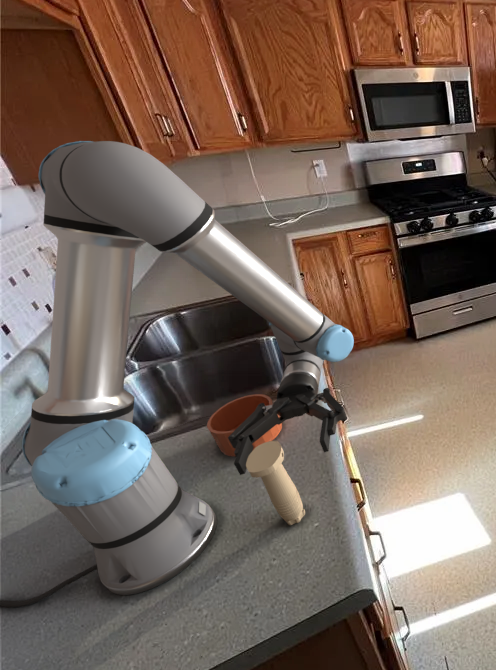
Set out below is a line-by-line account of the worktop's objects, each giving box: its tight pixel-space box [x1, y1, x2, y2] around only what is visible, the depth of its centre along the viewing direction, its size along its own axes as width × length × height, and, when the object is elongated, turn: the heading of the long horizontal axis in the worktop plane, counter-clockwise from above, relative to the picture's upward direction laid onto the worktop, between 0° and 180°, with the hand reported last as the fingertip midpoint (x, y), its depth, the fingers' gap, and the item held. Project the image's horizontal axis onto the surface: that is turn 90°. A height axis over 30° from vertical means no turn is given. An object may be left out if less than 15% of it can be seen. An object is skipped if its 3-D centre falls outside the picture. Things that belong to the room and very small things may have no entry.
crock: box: [206, 393, 283, 457], centre depth 89 cm, size 12×12×6 cm
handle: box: [246, 440, 306, 526], centre depth 68 cm, size 5×6×15 cm
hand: (282, 457), depth 71 cm, fingers open, 13 cm apart
